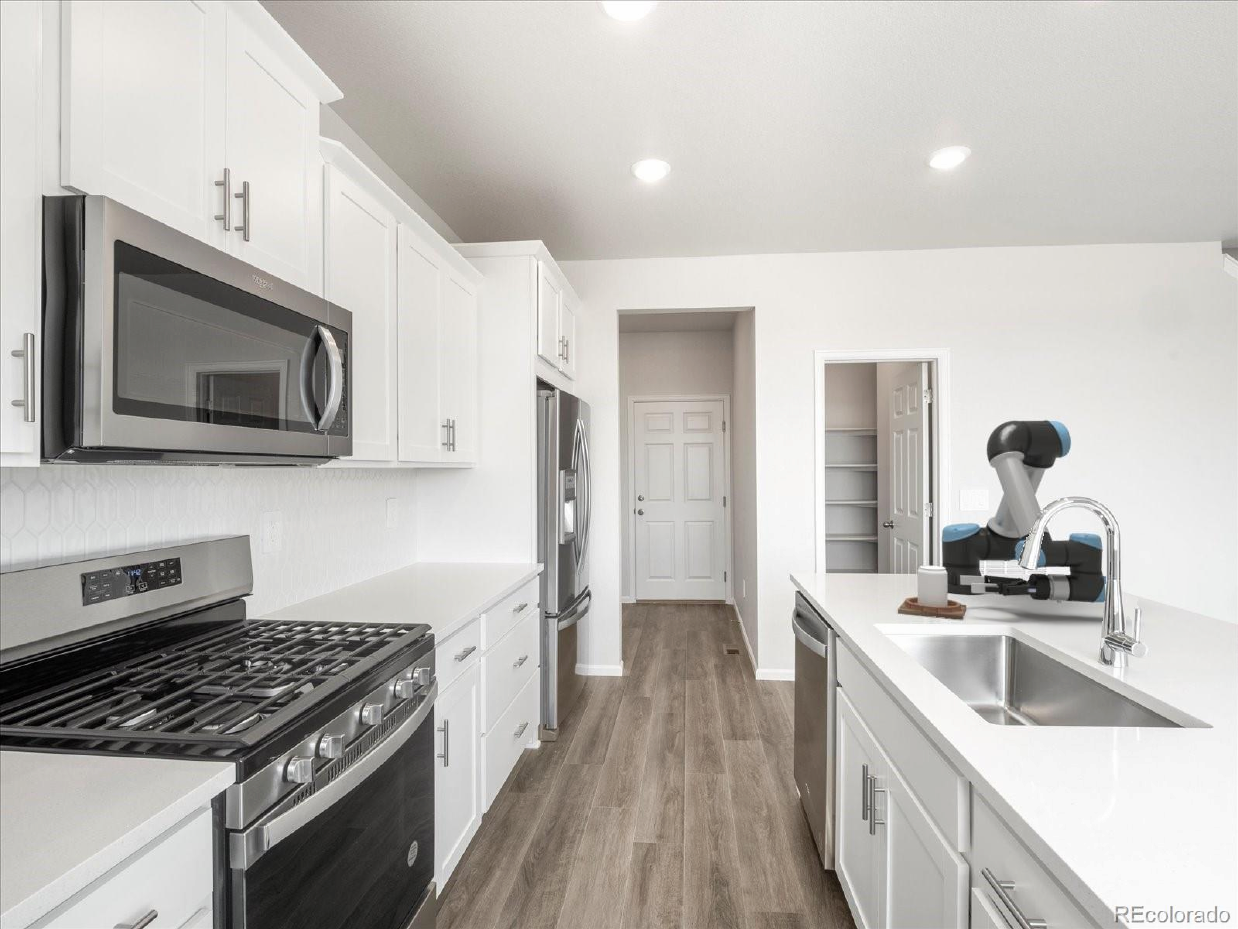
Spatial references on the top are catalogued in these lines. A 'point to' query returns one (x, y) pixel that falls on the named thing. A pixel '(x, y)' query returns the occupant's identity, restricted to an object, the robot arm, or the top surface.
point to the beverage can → (932, 586)
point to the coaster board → (933, 609)
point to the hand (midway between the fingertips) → (965, 583)
